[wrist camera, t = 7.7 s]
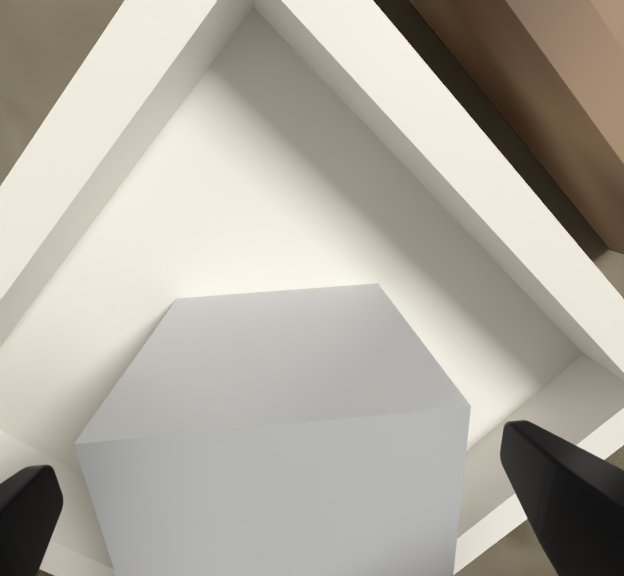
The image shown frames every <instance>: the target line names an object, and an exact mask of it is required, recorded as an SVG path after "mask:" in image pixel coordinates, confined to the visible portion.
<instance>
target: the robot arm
mask: <svg viewBox="0 0 624 576" xmlns="http://www.w3.org/2000/svg"><path fill="white" fill-rule="evenodd" d="M500 460H501V463H502V466H503V468H504V470H505V473H506V475H507V477H508V479H509V481H510V483H511V485H512V487H513V489H514V491H515V493H516V496H517V498H518V500H519V502H520V504H521V506H522V508H523V510H524V512H525V514H526V517H527V519H528V521H529V523H530V525H531V527H532V529H533V531H534V533H535V535H536V537H537V539H538V541H539V543H540V545H541V546H542V548H543V550H544V552H545V553H546V555H547V557H548V559H549V560H550V562H551V564H552V565H553V567H554V569H555V570H556V572H557V574H558V575H559V576H624V470H623V469H621V468H619V467H617V466H615V465H613V464H611V463H609V462H607V461H605V460H603V459H601V458H599V457H597V456H595V455H594V454H592V453H590V452H588V451H586V450H584V449H582V448H580V447H578V446H576V445H574V444H572V443H570V442H568V441H566V440H565V439H563V438H561V437H559V436H557V435H555V434H553V433H551V432H549V431H547V430H545V429H543V428H541V427H539V426H537V425H536V424H534V423H532V422H530V421H527V420H516V421H508V422H506V423H505V425H504V428H503V434H502V441H501V447H500ZM63 501H64V500H63V494H62V491H61V488H60V485H59V482H58V479H57V476H56V474H55V471H54V469H53V467H52V466H50V465H47V464H45V465H34V466H28V467H25V468H23V469H21V470H20V471H18V472H17V473H15V474H14V475H12V476H11V477H9V478H8V479H6V480H5V481H3V482H2V483H0V576H37V574H38V571H39V568H40V566H41V563H42V561H43V558H44V555H45V553H46V550H47V548H48V545H49V542H50V540H51V537H52V535H53V532H54V529H55V527H56V524H57V522H58V519H59V516H60V514H61V511H62V508H63Z"/></svg>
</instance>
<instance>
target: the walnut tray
mask: <svg viewBox="0 0 624 576" xmlns="http://www.w3.org/2000/svg"><path fill="white" fill-rule="evenodd" d="M409 1H410V2H411V3H412V5H413V6H414V7H415V8H416V10H417V11H418V12H419V13H420V15H421V16H422V17H423V18H424V19H425V21H426V22H427V23H428V24H429V26H430V27H431V28H432V29H433V31H434V32H435V33H436V34H437V36H438V37H439V38H440V39H441V41H442V42H443V43H444V44H445V46H446V47H447V48H448V49H449V50H450V52H451V53H452V54H453V55H454V57H455V58H456V59H457V60H458V62H459V63H460V64H461V65H462V67H463V68H464V69H465V70H466V72H467V73H468V74H469V75H470V77H471V78H472V79H473V80H474V81H475V83H476V84H477V85H478V86H479V88H480V89H481V90H482V91H483V93H484V94H485V95H486V96H487V98H488V99H489V100H490V101H491V103H492V104H493V105H494V106H495V107H496V109H497V110H498V111H499V112H500V114H501V115H502V116H503V117H504V119H505V120H506V121H507V122H508V124H509V125H510V126H511V127H512V129H513V130H514V131H515V132H516V134H517V135H518V136H519V137H520V138H521V140H522V141H523V142H524V143H525V145H526V146H527V147H528V148H529V150H530V151H531V152H532V153H533V155H534V156H535V157H536V158H537V160H538V161H539V162H540V163H541V165H542V166H543V167H544V168H545V169H546V171H547V172H548V173H549V174H550V176H551V177H552V178H553V179H554V181H555V182H556V183H557V184H558V186H559V187H560V188H561V189H562V191H563V192H564V193H565V194H566V195H567V197H568V198H569V199H570V200H571V202H572V203H573V204H574V205H575V207H576V208H577V209H578V210H579V212H580V213H581V214H582V215H583V217H584V218H585V219H586V220H587V222H588V223H589V224H590V225H591V226H592V228H593V229H594V230H595V231H596V233H597V234H598V235H599V236H600V238H601V239H602V240H603V241H604V243H605V244H606V245H607V246H608V248H609V249H610V250H612V251H615V252H619V253H622V254H624V0H409Z"/></svg>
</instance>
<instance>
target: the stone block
mask: <svg viewBox="0 0 624 576" xmlns="http://www.w3.org/2000/svg"><path fill="white" fill-rule="evenodd" d="M470 411H471V406H470V404H469V403H468V402H467V400H466V399H465V398H464V396H463V395H462V394H461V392H460V391H459V390H458V388H457V387H456V386H455V384H454V383H453V382H452V381H451V379H450V378H449V377H448V375H447V374H446V373H445V371H444V370H443V369H442V367H441V366H440V365H439V363H438V362H437V361H436V359H435V358H434V357H433V355H432V354H431V353H430V351H429V350H428V349H427V347H426V346H425V345H424V344H423V342H422V341H421V340H420V338H419V337H418V336H417V334H416V333H415V332H414V330H413V329H412V328H411V326H410V325H409V324H408V322H407V321H406V320H405V318H404V317H403V316H402V314H401V313H400V312H399V310H398V309H397V308H396V307H395V305H394V304H393V303H392V301H391V300H390V299H389V297H388V296H387V295H386V293H385V292H384V291H383V289H382V288H381V287H380V285H379V284H378V283H375V284H362V285H349V286H335V287H322V288H309V289H296V290H282V291H269V292H256V293H242V294H229V295H216V296H203V297H189V298H177V299H176V301H175V302H174V303H173V305H172V306H171V308H170V309H169V310H168V312H167V313H166V315H165V316H164V317H163V319H162V320H161V322H160V323H159V324H158V326H157V327H156V329H155V330H154V331H153V333H152V334H151V336H150V337H149V338H148V340H147V341H146V343H145V344H144V346H143V347H142V348H141V350H140V351H139V353H138V354H137V355H136V357H135V358H134V360H133V361H132V362H131V364H130V365H129V367H128V368H127V369H126V371H125V372H124V374H123V375H122V376H121V378H120V379H119V381H118V382H117V383H116V385H115V386H114V388H113V389H112V390H111V392H110V393H109V395H108V396H107V398H106V399H105V400H104V402H103V403H102V405H101V406H100V407H99V409H98V410H97V412H96V413H95V414H94V416H93V417H92V419H91V420H90V421H89V423H88V424H87V426H86V427H85V428H84V430H83V431H82V433H81V434H80V435H79V437H78V438H77V440H76V441H75V442H74V444H73V445H74V448H75V451H76V454H77V457H78V460H79V463H80V466H81V469H82V472H83V475H84V479H85V482H86V485H87V488H88V491H89V494H90V497H91V500H92V503H93V506H94V509H95V512H96V516H97V519H98V522H99V525H100V528H101V531H102V534H103V537H104V540H105V543H106V546H107V550H108V553H109V556H110V559H111V562H112V565H113V568H114V571H115V574H116V576H453V573H454V563H455V554H456V544H457V535H458V525H459V515H460V506H461V496H462V487H463V477H464V468H465V458H466V449H467V439H468V430H469V420H470Z"/></svg>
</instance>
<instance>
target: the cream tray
mask: <svg viewBox="0 0 624 576" xmlns="http://www.w3.org/2000/svg"><path fill="white" fill-rule="evenodd" d="M375 283H378V284H379V285H380V287H381V288H382V289H383V291H384V292H385V293H386V295H387V296H388V297H389V299H390V300H391V301H392V303H393V304H394V305H395V307H396V308H397V309H398V310H399V312H400V313H401V314H402V316H403V317H404V318H405V320H406V321H407V322H408V324H409V325H410V326H411V328H412V329H413V330H414V332H415V333H416V334H417V336H418V337H419V338H420V340H421V341H422V342H423V344H424V345H425V346H426V347H427V349H428V350H429V351H430V353H431V354H432V355H433V357H434V358H435V359H436V361H437V362H438V363H439V365H440V366H441V367H442V369H443V370H444V371H445V373H446V374H447V375H448V377H449V378H450V379H451V381H452V382H453V383H454V384H455V386H456V387H457V388H458V390H459V391H460V392H461V394H462V395H463V396H464V398H465V399H466V400H467V402H468V403H469V404H470V406H471V411H470V420H469V430H468V439H467V449H466V458H465V468H464V477H463V487H462V496H461V506H460V515H459V525H458V535H457V544H456V554H455V563H454V573H453V575H454V574H455V573H457V572H458V571H459V570H461V569H462V568H463V567H465V566H466V565H467V564H469V563H470V562H471V561H472V560H474V559H475V558H476V557H478V556H479V555H480V554H482V553H483V552H484V551H486V550H487V549H488V548H489V547H491V546H492V545H493V544H495V543H496V542H497V541H499V540H500V539H501V538H503V537H504V536H505V535H506V534H508V533H509V532H510V531H512V530H513V529H514V528H516V527H517V526H518V525H520V524H521V523H522V522H523V521H525V520H526V519H527V517H526V514H525V512H524V510H523V508H522V506H521V504H520V502H519V500H518V498H517V496H516V493H515V491H514V489H513V487H512V485H511V483H510V481H509V479H508V477H507V475H506V473H505V470H504V468H503V466H502V463H501V460H500V447H501V441H502V434H503V428H504V425H505V423H506V422H508V421H516V420H527V421H530V422H532V423H534V424H536V425H537V426H539V427H541V428H543V429H545V430H547V431H549V432H551V433H553V434H555V435H557V436H559V437H561V438H563V439H565V440H566V441H568V442H570V443H572V444H574V445H576V446H578V447H580V448H582V449H584V450H586V451H588V452H590V453H592V454H594V455H595V456H597V457H599V458H601V459H603V460H605V459H606V458H607V457H608V456H610V455H611V454H612V453H614V452H615V451H616V450H618V449H619V448H620V447H622V446H623V445H624V299H623V298H622V297H621V295H620V294H619V293H618V292H617V291H616V289H615V288H614V287H613V286H612V285H611V283H610V282H609V281H608V280H607V279H606V278H605V276H604V275H603V274H602V273H601V272H600V270H599V269H598V268H597V267H596V266H595V264H594V263H593V262H592V261H591V260H590V258H589V257H588V256H587V255H586V254H585V252H584V251H583V250H582V249H581V248H580V247H579V245H578V244H577V243H576V242H575V241H574V239H573V238H572V237H571V236H570V235H569V233H568V232H567V231H566V230H565V229H564V227H563V226H562V225H561V224H560V223H559V221H558V220H557V219H556V218H555V217H554V216H553V214H552V213H551V212H550V211H549V210H548V208H547V207H546V206H545V205H544V204H543V202H542V201H541V200H540V199H539V198H538V196H537V195H536V194H535V193H534V192H533V190H532V189H531V188H530V187H529V186H528V185H527V183H526V182H525V181H524V180H523V179H522V177H521V176H520V175H519V174H518V173H517V171H516V170H515V169H514V168H513V167H512V165H511V164H510V163H509V162H508V161H507V159H506V158H505V157H504V156H503V155H502V154H501V152H500V151H499V150H498V149H497V148H496V146H495V145H494V144H493V143H492V142H491V140H490V139H489V138H488V137H487V136H486V134H485V133H484V132H483V131H482V130H481V128H480V127H479V126H478V125H477V124H476V122H475V121H474V120H473V119H472V118H471V117H470V115H469V114H468V113H467V112H466V111H465V109H464V108H463V107H462V106H461V105H460V103H459V102H458V101H457V100H456V99H455V97H454V96H453V95H452V94H451V93H450V91H449V90H448V89H447V88H446V87H445V86H444V84H443V83H442V82H441V81H440V80H439V78H438V77H437V76H436V75H435V74H434V72H433V71H432V70H431V69H430V68H429V66H428V65H427V64H426V63H425V62H424V60H423V59H422V58H421V57H420V56H419V55H418V53H417V52H416V51H415V50H414V49H413V47H412V46H411V45H410V44H409V43H408V41H407V40H406V39H405V38H404V37H403V35H402V34H401V33H400V32H399V31H398V29H397V28H396V27H395V26H394V25H393V24H392V22H391V21H390V20H389V19H388V18H387V16H386V15H385V14H384V13H383V12H382V10H381V9H380V8H379V7H378V6H377V4H376V3H375V2H374V1H373V0H125V1H124V2H123V4H122V5H121V7H120V8H119V10H118V11H117V13H116V14H115V16H114V17H113V19H112V20H111V22H110V23H109V25H108V26H107V28H106V29H105V31H104V32H103V34H102V35H101V37H100V38H99V40H98V41H97V43H96V44H95V46H94V47H93V49H92V50H91V52H90V53H89V55H88V56H87V58H86V59H85V61H84V62H83V64H82V65H81V67H80V68H79V70H78V71H77V73H76V74H75V76H74V77H73V79H72V80H71V82H70V83H69V85H68V86H67V88H66V89H65V90H64V92H63V93H62V95H61V96H60V98H59V99H58V101H57V102H56V104H55V105H54V107H53V108H52V110H51V111H50V113H49V114H48V116H47V117H46V119H45V120H44V122H43V123H42V125H41V126H40V128H39V129H38V131H37V132H36V134H35V135H34V137H33V138H32V140H31V141H30V143H29V144H28V146H27V147H26V149H25V150H24V152H23V153H22V155H21V156H20V158H19V159H18V161H17V162H16V164H15V165H14V167H13V168H12V170H11V171H10V173H9V174H8V176H7V177H6V179H5V180H4V182H3V183H2V185H1V186H0V483H2V482H3V481H5V480H6V479H8V478H9V477H11V476H12V475H14V474H15V473H17V472H18V471H20V470H21V469H23V468H25V467H28V466H34V465H45V464H47V465H50V466H52V467H53V469H54V471H55V474H56V476H57V479H58V482H59V485H60V488H61V491H62V494H63V500H64V501H63V508H62V511H61V514H60V516H59V519H58V522H57V524H56V527H55V529H54V532H53V535H52V537H51V540H50V542H49V545H48V548H47V550H46V553H45V555H44V558H43V561H42V563H41V566H40V568H39V569H41V570H43V571H45V572H47V573H50V574H52V575H54V576H116V574H115V571H114V568H113V565H112V562H111V559H110V556H109V553H108V550H107V546H106V543H105V540H104V537H103V534H102V531H101V528H100V525H99V522H98V519H97V516H96V512H95V509H94V506H93V503H92V500H91V497H90V494H89V491H88V488H87V485H86V482H85V479H84V475H83V472H82V469H81V466H80V463H79V460H78V457H77V454H76V451H75V448H74V445H73V444H74V442H75V441H76V440H77V438H78V437H79V435H80V434H81V433H82V431H83V430H84V428H85V427H86V426H87V424H88V423H89V421H90V420H91V419H92V417H93V416H94V414H95V413H96V412H97V410H98V409H99V407H100V406H101V405H102V403H103V402H104V400H105V399H106V398H107V396H108V395H109V393H110V392H111V390H112V389H113V388H114V386H115V385H116V383H117V382H118V381H119V379H120V378H121V376H122V375H123V374H124V372H125V371H126V369H127V368H128V367H129V365H130V364H131V362H132V361H133V360H134V358H135V357H136V355H137V354H138V353H139V351H140V350H141V348H142V347H143V346H144V344H145V343H146V341H147V340H148V338H149V337H150V336H151V334H152V333H153V331H154V330H155V329H156V327H157V326H158V324H159V323H160V322H161V320H162V319H163V317H164V316H165V315H166V313H167V312H168V310H169V309H170V308H171V306H172V305H173V303H174V302H175V301H176V299H177V298H189V297H203V296H216V295H229V294H242V293H256V292H269V291H282V290H296V289H309V288H322V287H335V286H349V285H362V284H375Z"/></svg>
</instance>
